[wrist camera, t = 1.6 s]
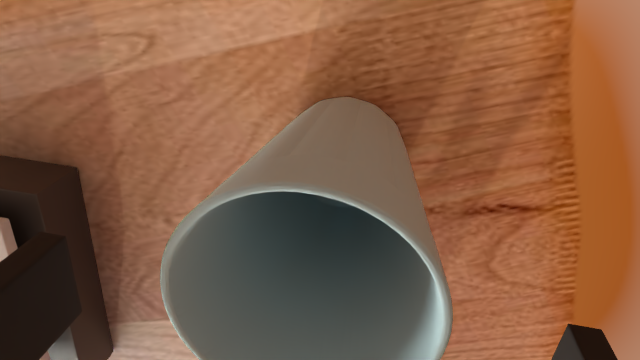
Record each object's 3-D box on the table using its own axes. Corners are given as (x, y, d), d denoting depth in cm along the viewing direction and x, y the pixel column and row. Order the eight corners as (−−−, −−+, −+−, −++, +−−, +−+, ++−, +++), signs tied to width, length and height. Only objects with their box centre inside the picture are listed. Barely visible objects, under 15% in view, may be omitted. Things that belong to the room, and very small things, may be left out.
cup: (467, 162, 20) (520, 343, 11) (343, 249, 23) (303, 444, 14) (350, 33, 18) (294, 117, 9) (235, 147, 21) (109, 293, 12)
